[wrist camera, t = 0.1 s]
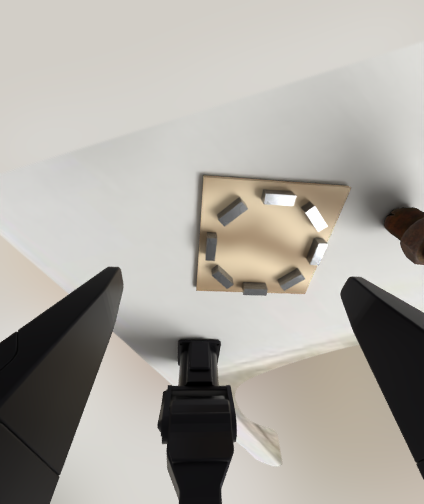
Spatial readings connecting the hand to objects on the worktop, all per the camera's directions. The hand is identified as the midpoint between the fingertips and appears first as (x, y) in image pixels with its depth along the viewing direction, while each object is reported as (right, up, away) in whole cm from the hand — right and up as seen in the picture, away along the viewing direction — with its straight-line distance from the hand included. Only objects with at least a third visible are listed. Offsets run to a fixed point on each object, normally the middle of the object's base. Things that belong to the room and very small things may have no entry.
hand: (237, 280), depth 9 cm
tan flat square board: (+5, +2, +17) cm, 17 cm away
